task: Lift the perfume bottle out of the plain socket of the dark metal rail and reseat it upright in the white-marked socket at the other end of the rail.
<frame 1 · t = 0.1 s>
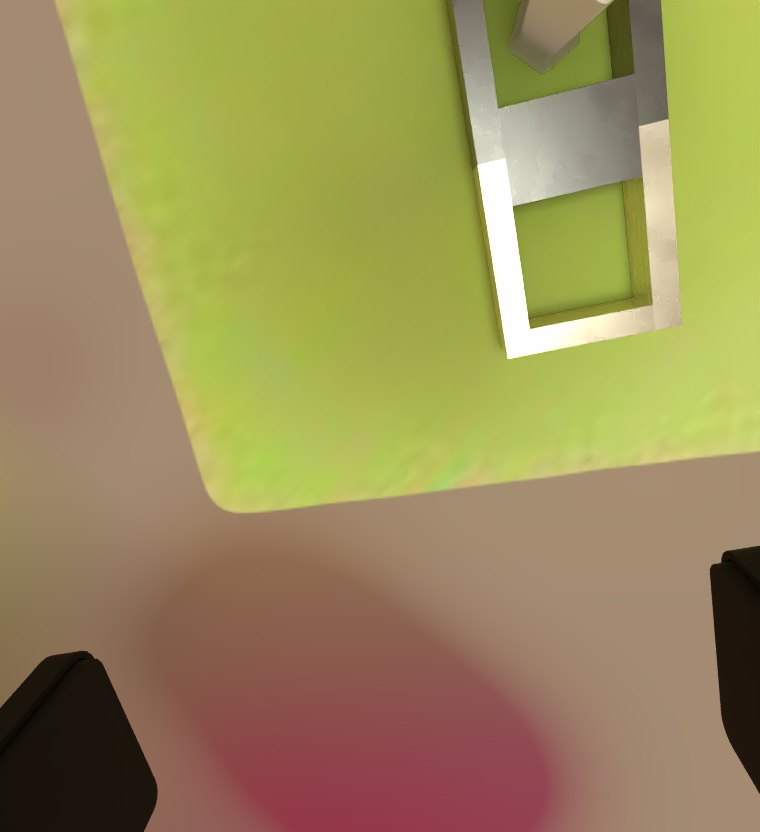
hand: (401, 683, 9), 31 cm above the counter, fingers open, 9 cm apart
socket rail: (557, 150, 34), on the counter
perfume bottle: (542, 38, 33), resting in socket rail
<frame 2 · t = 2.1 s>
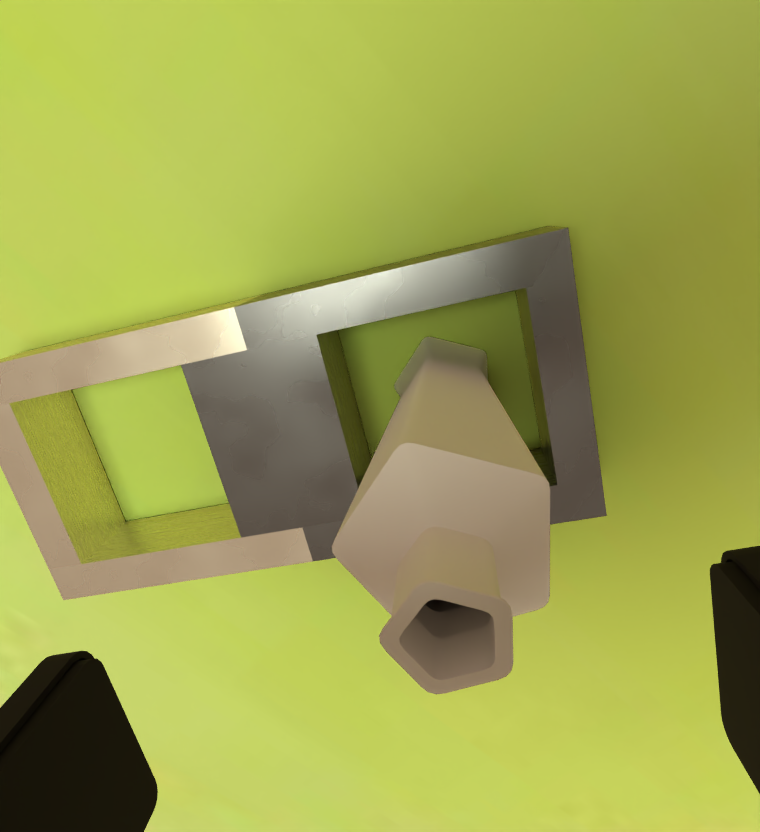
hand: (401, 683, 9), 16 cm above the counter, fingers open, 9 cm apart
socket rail: (298, 412, 24), on the counter
perfume bottle: (439, 382, 23), resting in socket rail
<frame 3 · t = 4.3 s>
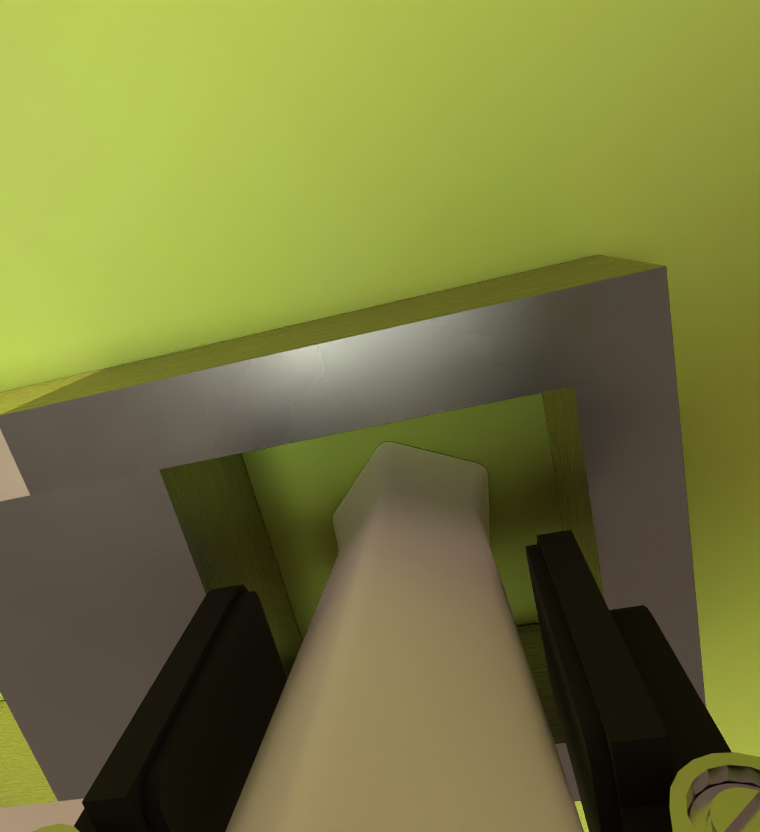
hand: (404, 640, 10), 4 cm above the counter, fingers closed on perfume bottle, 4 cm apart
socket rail: (175, 558, 15), on the counter
perfume bottle: (408, 513, 14), resting in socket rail, touching gripper
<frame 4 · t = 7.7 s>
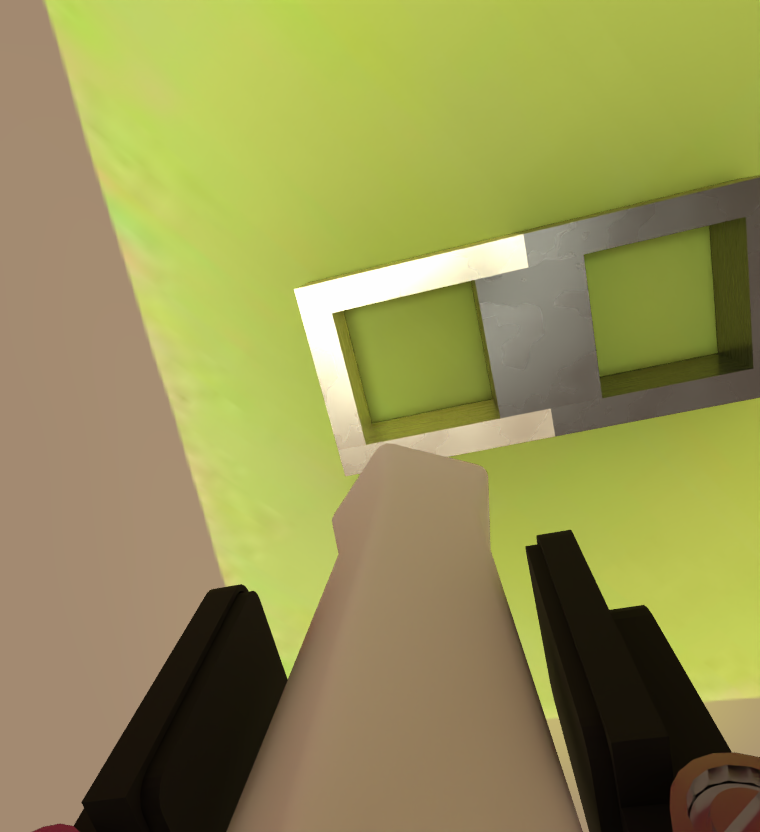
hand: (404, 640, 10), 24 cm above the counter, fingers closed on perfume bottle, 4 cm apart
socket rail: (527, 328, 31), on the counter
perfume bottle: (408, 514, 14), point 19 cm above the counter, touching gripper
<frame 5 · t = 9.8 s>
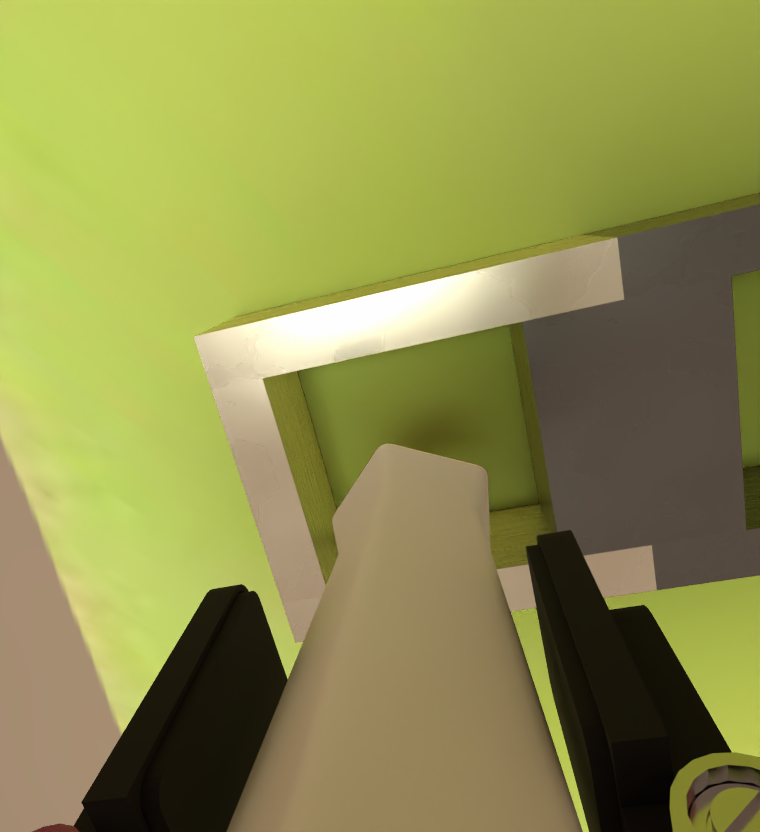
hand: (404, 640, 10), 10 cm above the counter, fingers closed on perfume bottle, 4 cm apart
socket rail: (601, 393, 19), on the counter
perfume bottle: (408, 515, 14), point 6 cm above the counter, touching gripper
when the fingers open (6 cm above the counter, at t = 11.5 s): perfume bottle drops 2 cm, resting in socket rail.
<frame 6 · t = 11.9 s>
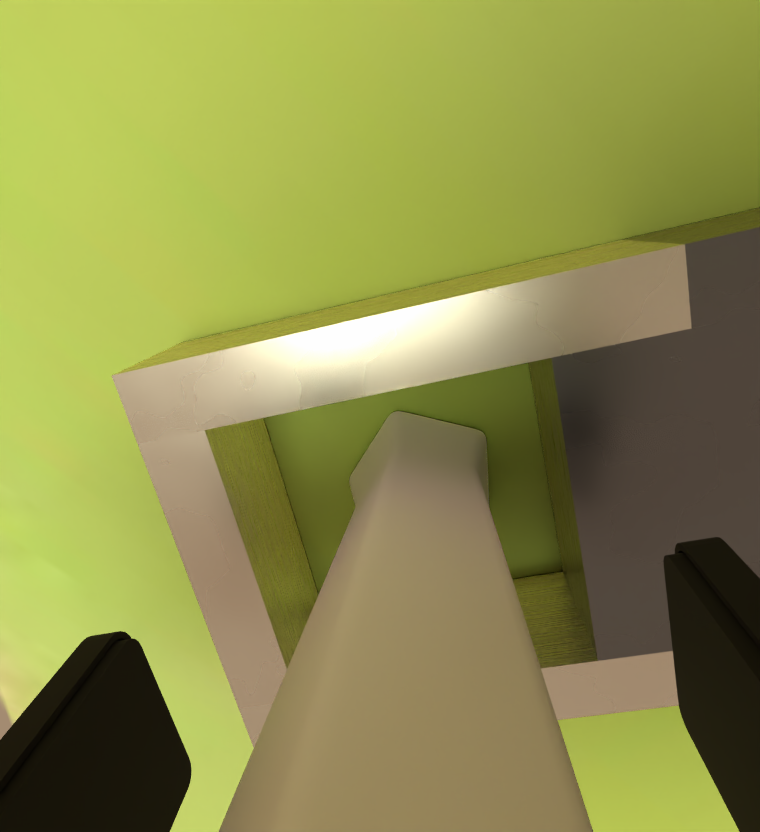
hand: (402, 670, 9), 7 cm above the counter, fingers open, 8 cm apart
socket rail: (643, 439, 15), on the counter
perfume bottle: (416, 475, 16), resting in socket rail
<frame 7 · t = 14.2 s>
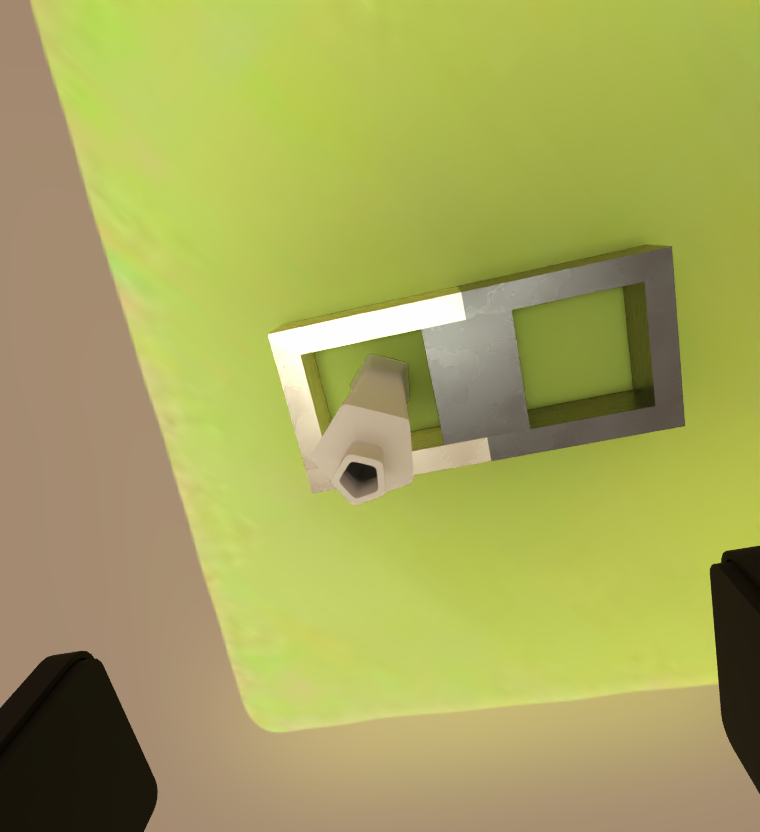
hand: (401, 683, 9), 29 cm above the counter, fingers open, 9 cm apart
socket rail: (471, 366, 36), on the counter
perfume bottle: (379, 382, 37), resting in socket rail
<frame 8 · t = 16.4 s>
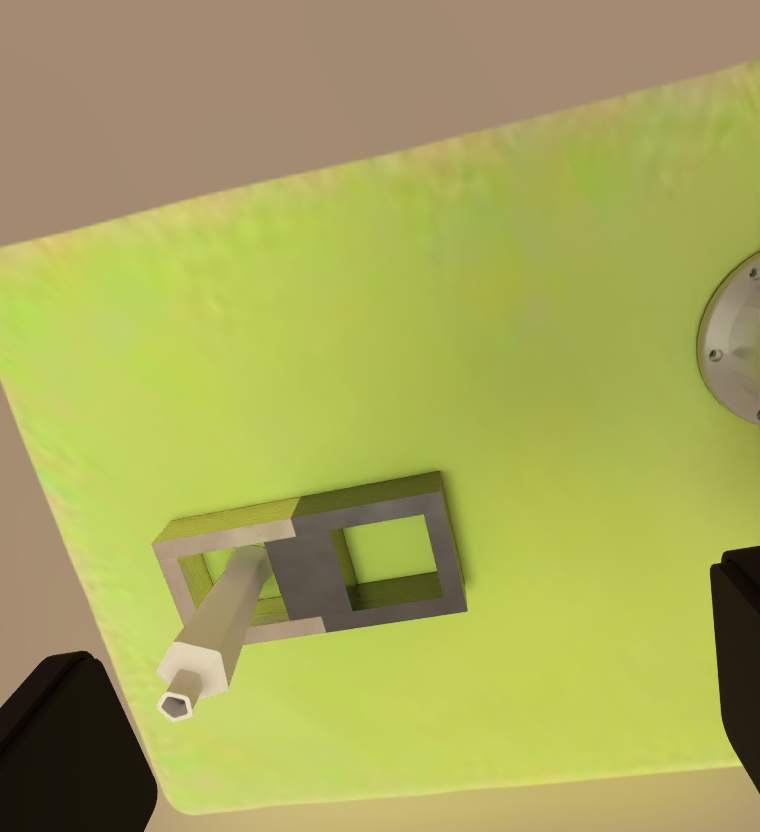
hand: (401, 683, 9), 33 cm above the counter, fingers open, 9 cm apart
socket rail: (317, 552, 47), on the counter
perfume bottle: (249, 561, 48), resting in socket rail
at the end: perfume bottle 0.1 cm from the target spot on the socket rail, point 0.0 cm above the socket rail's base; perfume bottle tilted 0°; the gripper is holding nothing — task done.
